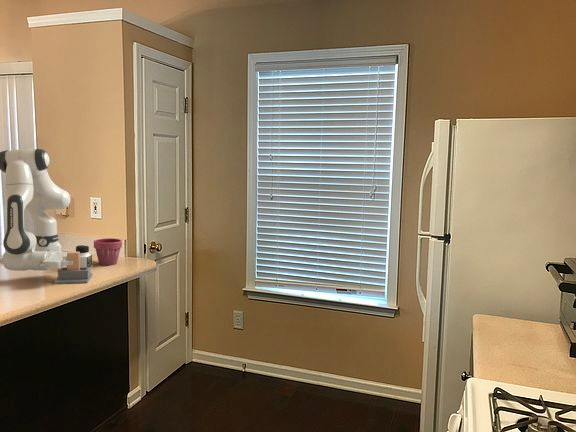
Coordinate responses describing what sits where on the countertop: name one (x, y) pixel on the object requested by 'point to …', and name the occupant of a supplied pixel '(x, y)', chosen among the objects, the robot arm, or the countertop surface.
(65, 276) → the rack
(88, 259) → the medicine bottle
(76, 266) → the tall tan pillar block
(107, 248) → the plant pot
